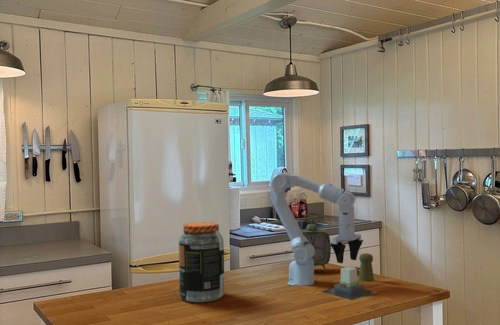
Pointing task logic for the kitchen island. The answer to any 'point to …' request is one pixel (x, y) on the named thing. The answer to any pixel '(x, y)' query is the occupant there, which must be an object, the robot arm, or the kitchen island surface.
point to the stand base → (348, 291)
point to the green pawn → (366, 267)
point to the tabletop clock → (318, 242)
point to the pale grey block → (349, 276)
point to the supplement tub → (201, 262)
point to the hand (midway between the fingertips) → (346, 261)
